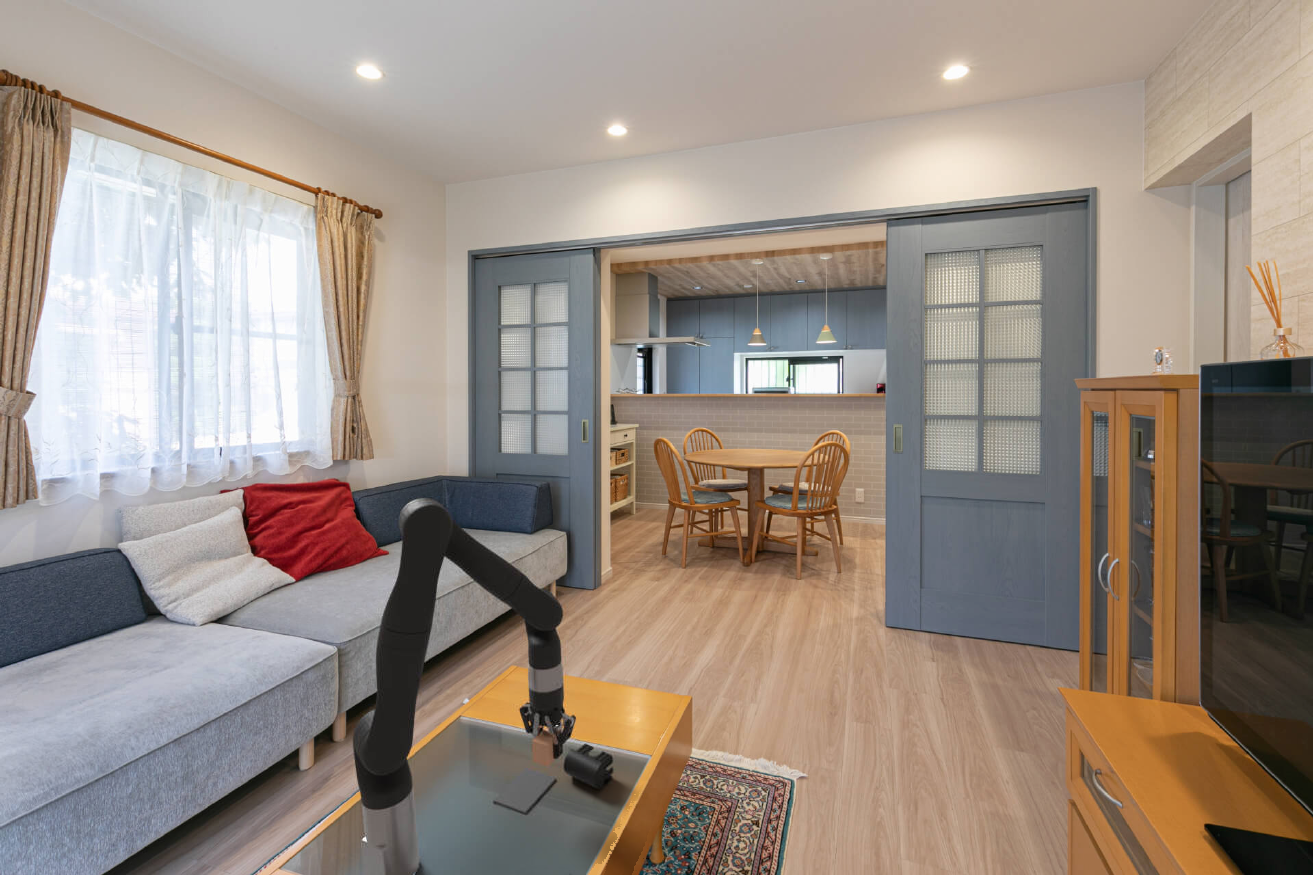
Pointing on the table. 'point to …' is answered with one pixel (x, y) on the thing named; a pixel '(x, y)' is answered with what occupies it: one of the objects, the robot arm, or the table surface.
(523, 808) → the mat
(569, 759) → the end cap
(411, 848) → the robot arm
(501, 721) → the table surface
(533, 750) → the plug
